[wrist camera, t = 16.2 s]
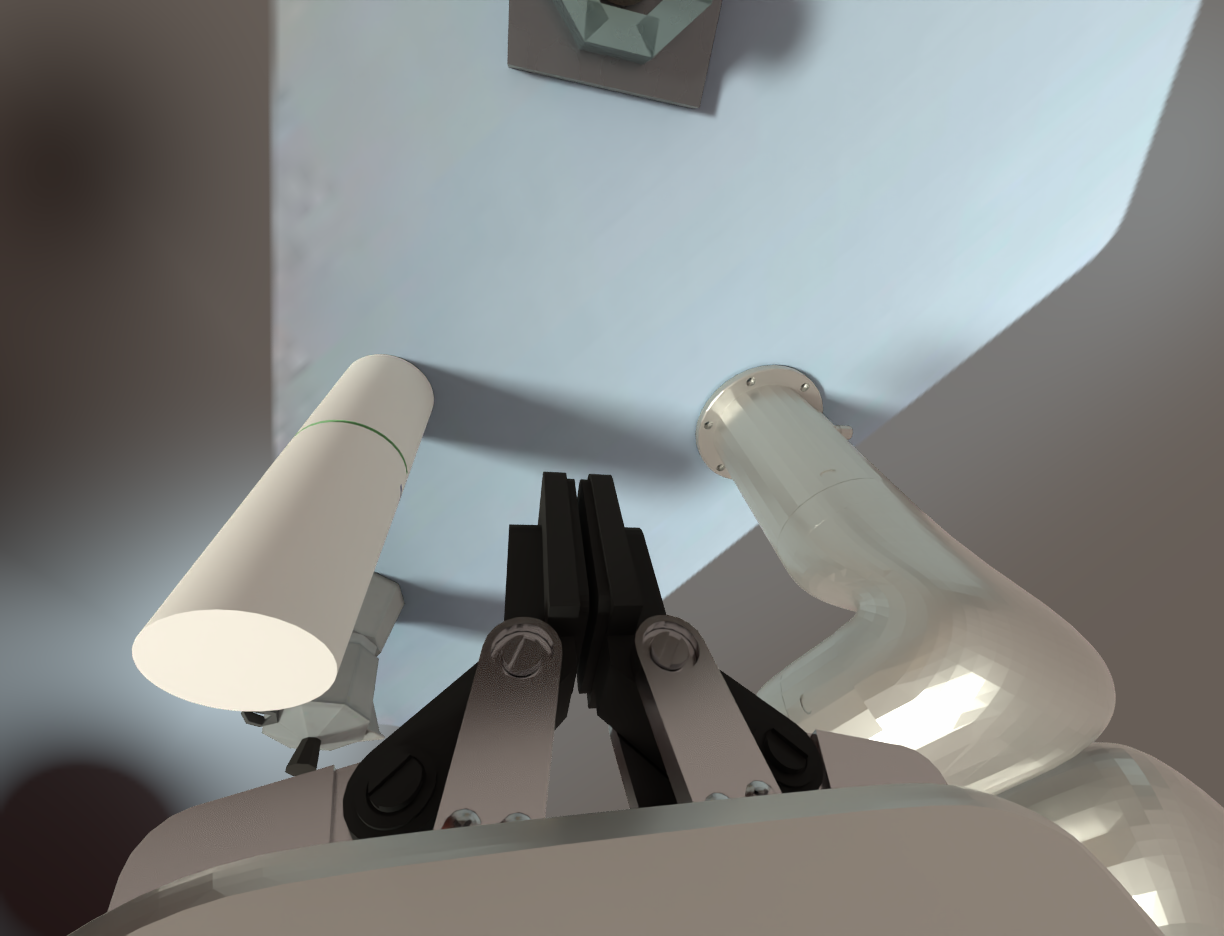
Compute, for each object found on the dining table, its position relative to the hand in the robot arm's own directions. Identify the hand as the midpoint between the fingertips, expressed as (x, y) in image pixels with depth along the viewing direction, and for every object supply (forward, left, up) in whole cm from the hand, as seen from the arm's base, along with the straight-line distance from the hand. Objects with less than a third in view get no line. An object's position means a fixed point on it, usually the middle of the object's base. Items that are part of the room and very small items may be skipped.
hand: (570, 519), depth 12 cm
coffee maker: (+18, +37, -29) cm, 51 cm away
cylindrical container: (+12, +12, -29) cm, 34 cm away
